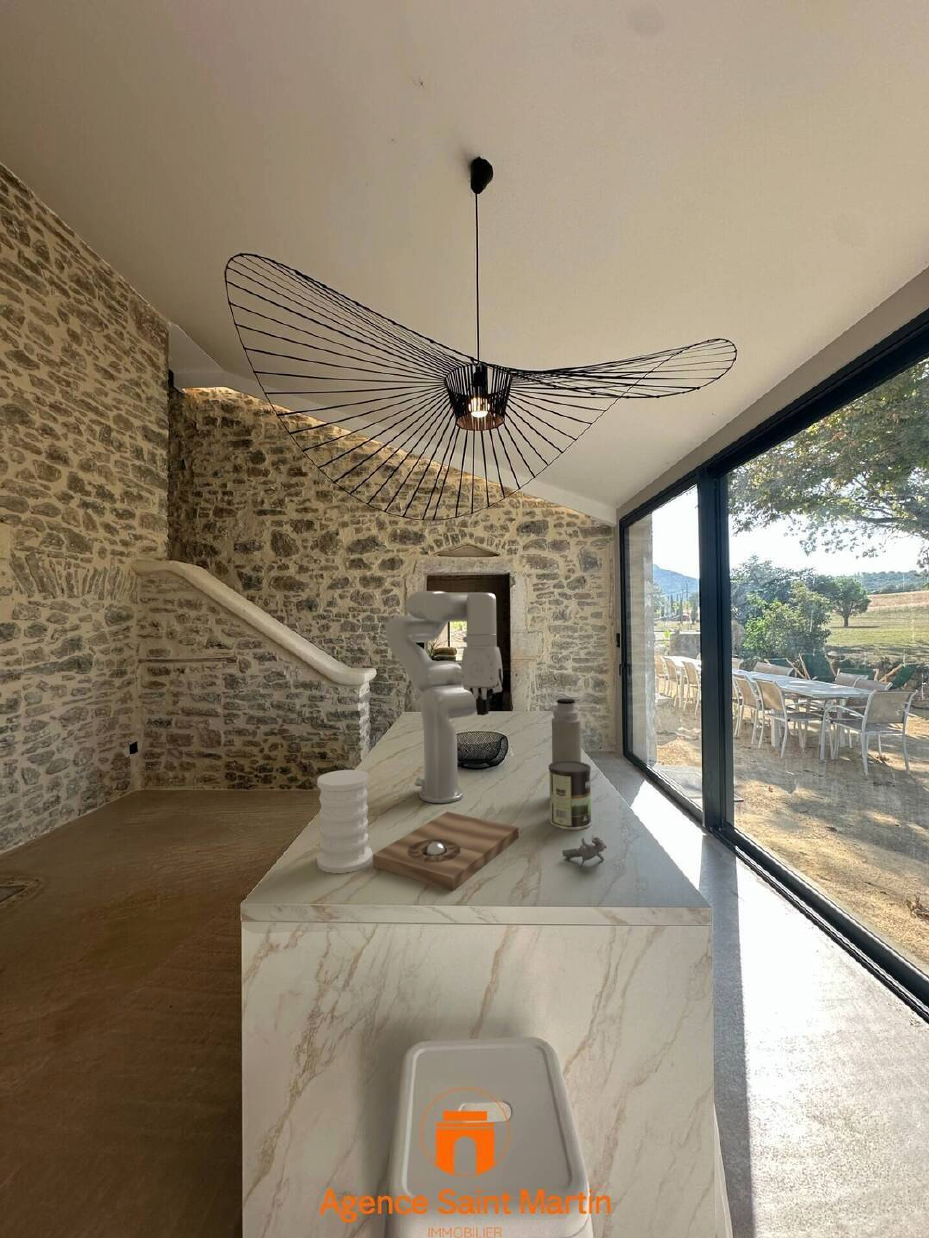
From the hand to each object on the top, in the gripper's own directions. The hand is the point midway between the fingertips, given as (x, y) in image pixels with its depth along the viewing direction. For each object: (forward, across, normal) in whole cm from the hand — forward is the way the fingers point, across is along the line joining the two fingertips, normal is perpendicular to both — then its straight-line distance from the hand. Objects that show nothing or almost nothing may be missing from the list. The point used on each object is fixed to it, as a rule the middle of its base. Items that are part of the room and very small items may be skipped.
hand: (482, 714), depth 137 cm
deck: (+27, +2, -19) cm, 33 cm away
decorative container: (+27, -15, -34) cm, 46 cm away
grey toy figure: (+27, +30, -10) cm, 42 cm away
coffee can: (+27, +19, +10) cm, 35 cm away
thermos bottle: (+27, +12, +26) cm, 40 cm away
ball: (+25, +2, -25) cm, 35 cm away
